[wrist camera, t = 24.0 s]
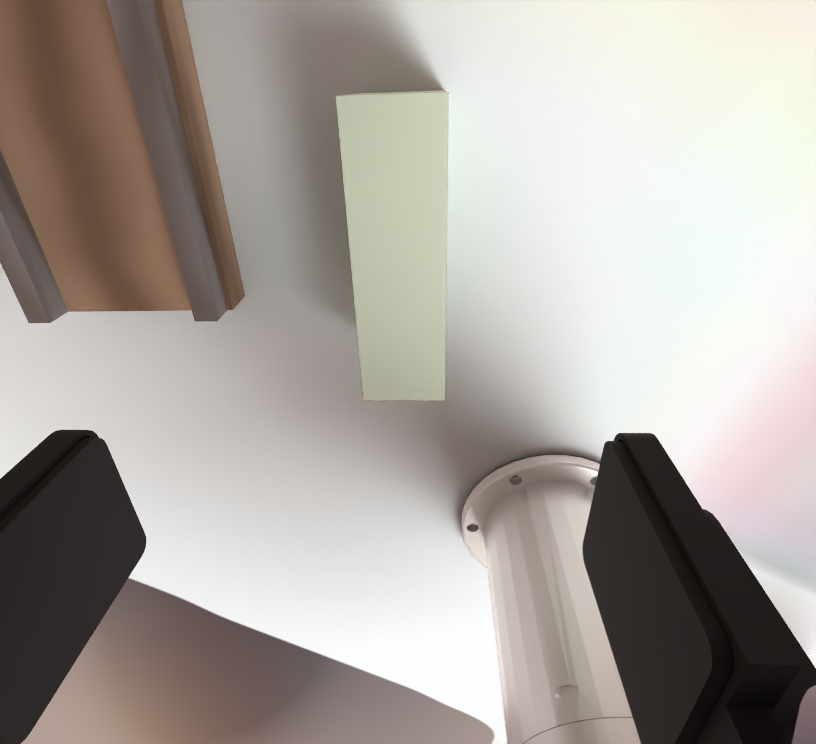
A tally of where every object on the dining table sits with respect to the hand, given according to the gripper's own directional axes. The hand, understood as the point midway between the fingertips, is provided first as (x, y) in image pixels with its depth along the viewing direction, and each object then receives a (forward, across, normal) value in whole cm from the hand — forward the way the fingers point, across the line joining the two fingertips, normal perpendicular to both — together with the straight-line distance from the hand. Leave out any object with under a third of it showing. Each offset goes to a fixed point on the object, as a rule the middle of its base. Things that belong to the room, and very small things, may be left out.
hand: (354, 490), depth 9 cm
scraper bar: (+20, 0, 0) cm, 20 cm away
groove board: (+20, +15, -4) cm, 25 cm away
